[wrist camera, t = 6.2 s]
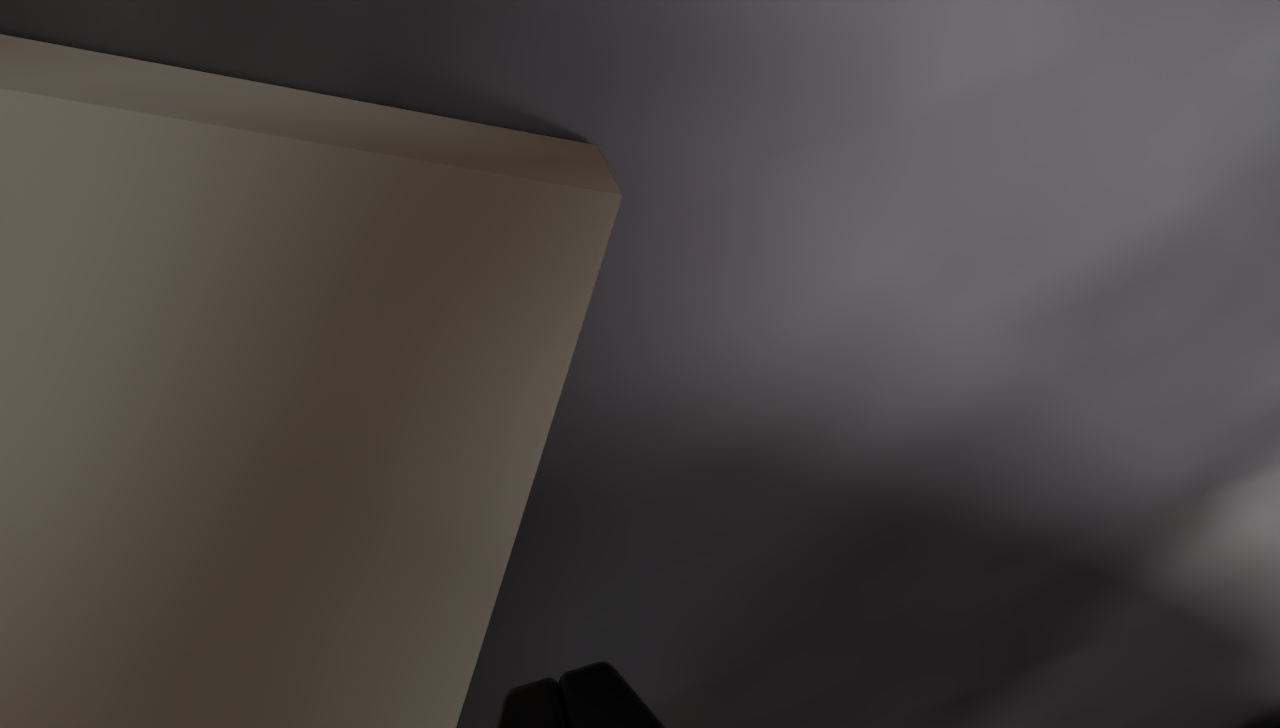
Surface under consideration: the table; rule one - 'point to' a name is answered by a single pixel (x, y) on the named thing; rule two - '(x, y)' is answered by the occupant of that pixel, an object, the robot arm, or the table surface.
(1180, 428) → the table surface
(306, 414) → the beige flat board
